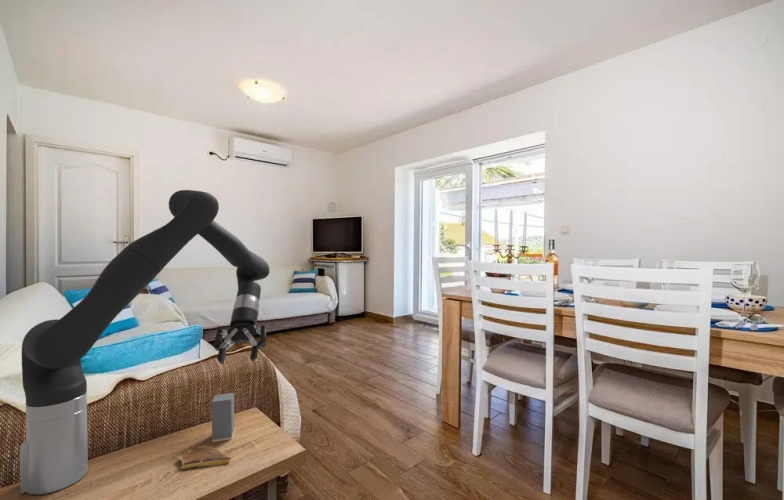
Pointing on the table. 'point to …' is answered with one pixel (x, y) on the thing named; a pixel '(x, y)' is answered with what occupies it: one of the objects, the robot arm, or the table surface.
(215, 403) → the sanding block
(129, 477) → the table surface
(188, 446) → the table surface
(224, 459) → the shard
